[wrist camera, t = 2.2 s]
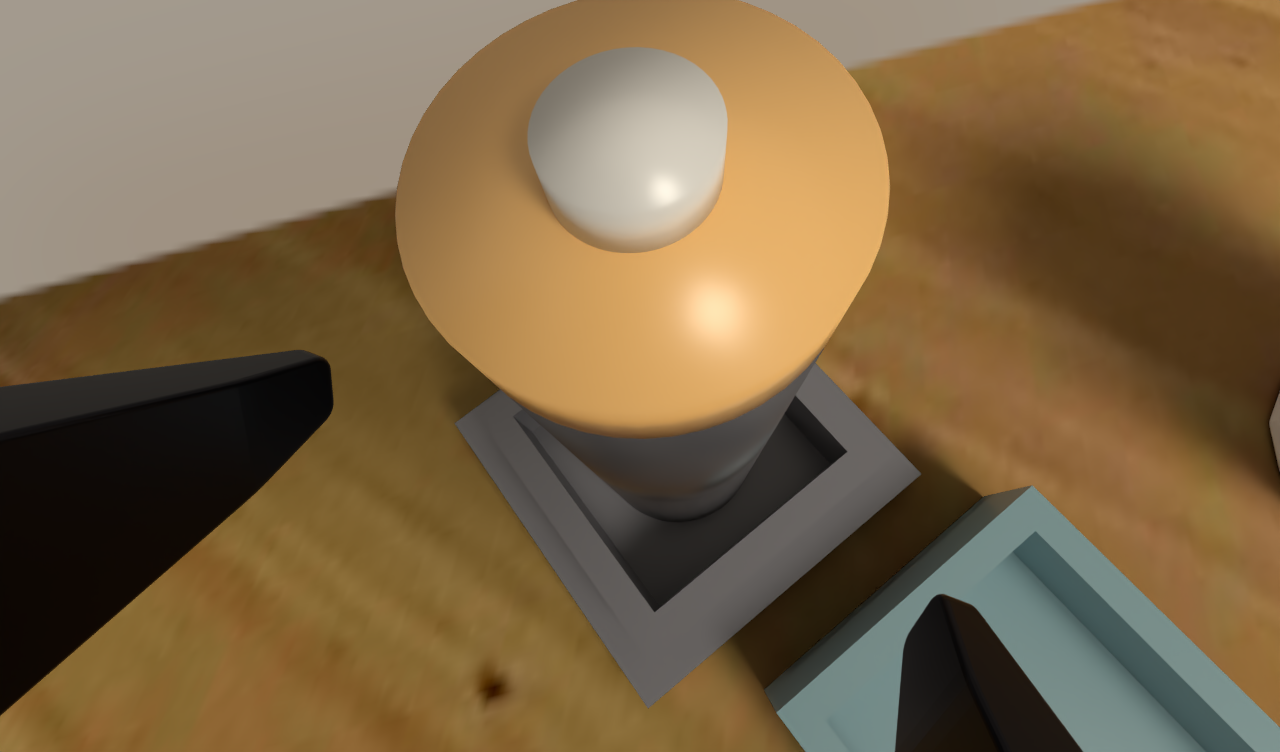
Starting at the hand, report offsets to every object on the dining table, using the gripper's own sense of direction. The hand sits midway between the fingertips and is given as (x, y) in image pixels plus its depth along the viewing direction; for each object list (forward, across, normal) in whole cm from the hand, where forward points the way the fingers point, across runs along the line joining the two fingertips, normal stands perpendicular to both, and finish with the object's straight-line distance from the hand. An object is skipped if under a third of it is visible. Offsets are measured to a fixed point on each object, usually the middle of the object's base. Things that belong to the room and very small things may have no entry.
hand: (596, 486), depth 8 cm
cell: (+8, 0, +5) cm, 10 cm away
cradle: (+9, 0, +6) cm, 11 cm away
